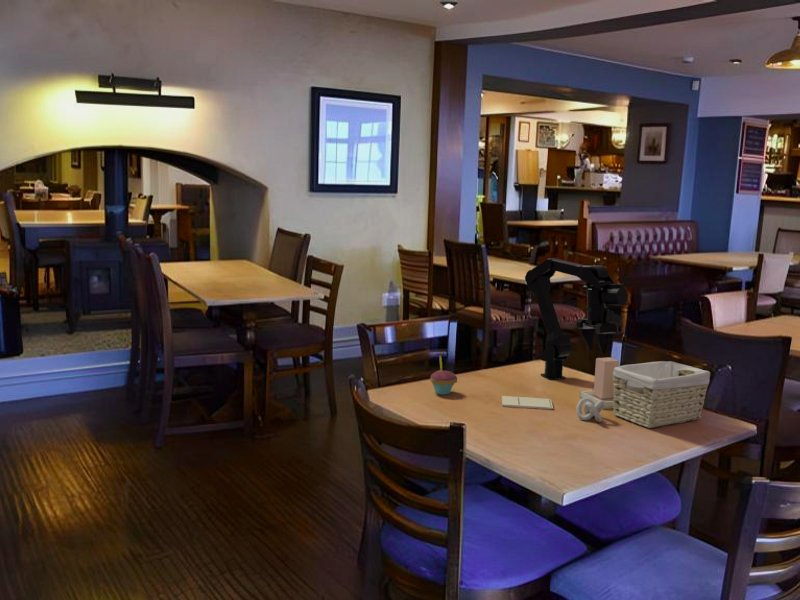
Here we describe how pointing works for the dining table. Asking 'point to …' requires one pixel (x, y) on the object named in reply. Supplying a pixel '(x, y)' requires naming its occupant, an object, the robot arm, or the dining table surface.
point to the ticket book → (526, 402)
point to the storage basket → (659, 393)
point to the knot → (589, 406)
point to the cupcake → (443, 380)
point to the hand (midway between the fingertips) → (596, 351)
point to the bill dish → (590, 395)
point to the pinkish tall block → (604, 379)
